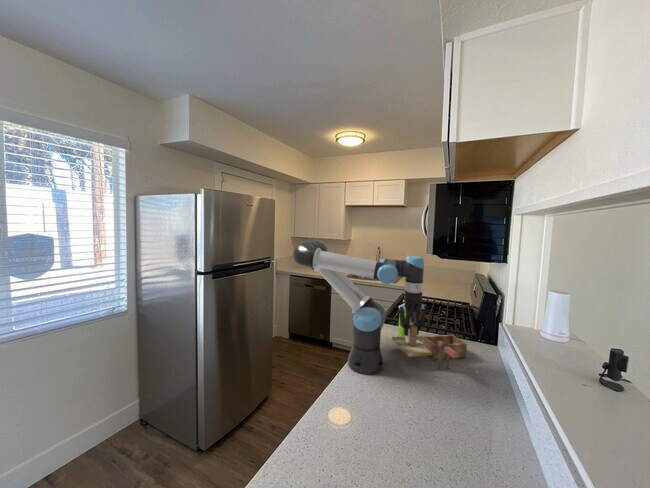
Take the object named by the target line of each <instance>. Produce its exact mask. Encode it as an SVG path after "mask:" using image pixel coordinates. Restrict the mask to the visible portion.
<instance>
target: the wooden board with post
mask: <svg viewBox="0 0 650 488" xmlns="http://www.w3.org/2000/svg"><path fill="white" fill-rule="evenodd" d="M409 329H410V343H409V344H408V343H407V342H406V341H405V336H400V337H398V336H391V340H392V341H393V342H394V344H396V345H397V347H399V349H400V350H401V351H403V353H404V354H405V355H406V356H407V357H408V358H409V357H412V358H413V357H424V356H425V357H426V356H428V355H432V352H431V351H430V350H429V349H427V348H426V347H425V346H424V345H423V344H422V343H423V342H421V341H419V340H418V335H417V326H415V325H414V322H411V323H410V324H409ZM416 341H417V343H416Z"/></svg>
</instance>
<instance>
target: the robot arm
mask: <svg viewBox="0 0 650 488" xmlns="http://www.w3.org/2000/svg"><path fill="white" fill-rule="evenodd" d="M292 259H293V260H294V262H295V263H296V264H297V265H298V266H300V267H303V268H308V269H311V270H312V271H313V272H318V273H319V274H320V275H321V276H322V277H323V278H324V280H325V281H326V282H328V284H329V285H330V286H331V287H332V288H333V289H334V291H336V293H338V295H339V296H340V297H341V298H342V299H343V301H345V302H346V303H347V305H348V306H349V307H351V309H352V310H351V311H352V312H351V314H352V315H353V317H352V323H353V324H352V325H353V327H352V347H351V349H350V351H349V355H348V357H347V366H348V367H349V368H350V369H351V370H352V371H354V372H356V373H359V374H363V375H376V374H379V373H381V372H382V371H383V370H384V364H385V363H384V357H383V354H382V352H381V335H382V329H383V327H384V324H385V322H386V319H387V314H386V309H385V307H384V306H383V305H382V304H381V303H380V302H378V301H375V300H374V299H373V298H372V297H371V296H369V295H368V296H367V295H365V294H364V293H363V292H362V291H361V290H360V289H359V288H358V287H357V286H356V285H355V283H353V281H351V280H350V278H349V277H348V276H347V275H346V274H349V275H352V276H358V277H362V278H366V279H367V278H368V279H372V280H375V281H376V280H377V281H380V283H382V284H384V285H391V284H393V283H394V282H396V280H397V279H398V277H399V278H404V280H405V281H404V298H403V300H405V301H404V302H402V304H398V305H397V308H398V311H399V313H400V326H402V327H403V328H404V335H405V341H406V342H407V343H408V344H409V343H410V329H409V324H410V318H411V317H412V315H413V324H414V325H415V326H417V336H419V331H420V329H421V328H423V327H424V324H425V316H426V311H427V309H428V305H426V304H424V303H423V302H422V301H423V288H424V286H423V285H424V275H425V273H424V272H425V260H424V258H423V257H422V256H417V255H408V256H406V259H401V260H400V259H389V258H380V259H379V261H377V260H373V259H366V258H363V257H362V258H361V257H357V256H350V255H346V254H341V253H335V252H330V251H328V248H327V245H326V244H325V243H324V242H322V241H320V240H318V239H310V240H308V241H307V240H306V241H302V242H299V243H297V244H296V245H295V246H294V248H293V251H292ZM404 307H405V308H406V316H405V315H404ZM416 343H417V341H416Z"/></svg>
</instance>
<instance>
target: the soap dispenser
mask: <svg viewBox="0 0 650 488" xmlns="http://www.w3.org/2000/svg"><path fill="white" fill-rule="evenodd" d="M404 301H405V299H403V300H402V303H404ZM404 315H405V316H406V308H405V307H404ZM398 317H399V318H398V332H397V333H398V334H397V337H400V336H405V335H404V328H403V327H402V326H400V312H399V316H398ZM411 321H412V320H411V318H410V323H412V322H411Z"/></svg>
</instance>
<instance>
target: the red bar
mask: <svg viewBox="0 0 650 488" xmlns="http://www.w3.org/2000/svg"><path fill="white" fill-rule="evenodd" d="M440 343H442V341H437V345H438V346H439V347H440ZM443 350H444V351H445V352H446V353H447V354H449V355H450V356H451V357H452V358H455V357H457V354H458V353H457V352H456V351H454V350H453V349H452V348H450V347H449V346H448V345H443Z"/></svg>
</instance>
